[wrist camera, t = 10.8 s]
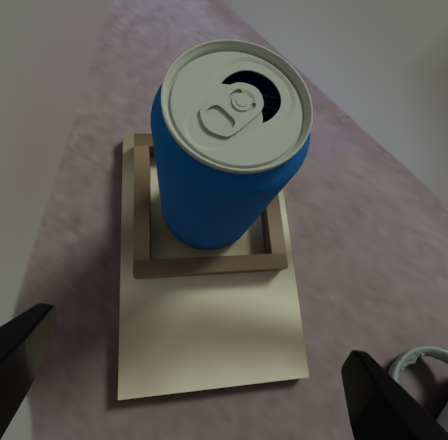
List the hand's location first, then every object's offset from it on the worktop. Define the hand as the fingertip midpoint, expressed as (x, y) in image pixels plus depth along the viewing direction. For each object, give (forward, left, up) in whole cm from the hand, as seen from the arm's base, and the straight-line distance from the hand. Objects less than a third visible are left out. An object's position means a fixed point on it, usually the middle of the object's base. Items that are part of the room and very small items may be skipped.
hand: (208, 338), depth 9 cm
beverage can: (+8, -2, -11) cm, 14 cm away
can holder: (+5, -2, -12) cm, 14 cm away
